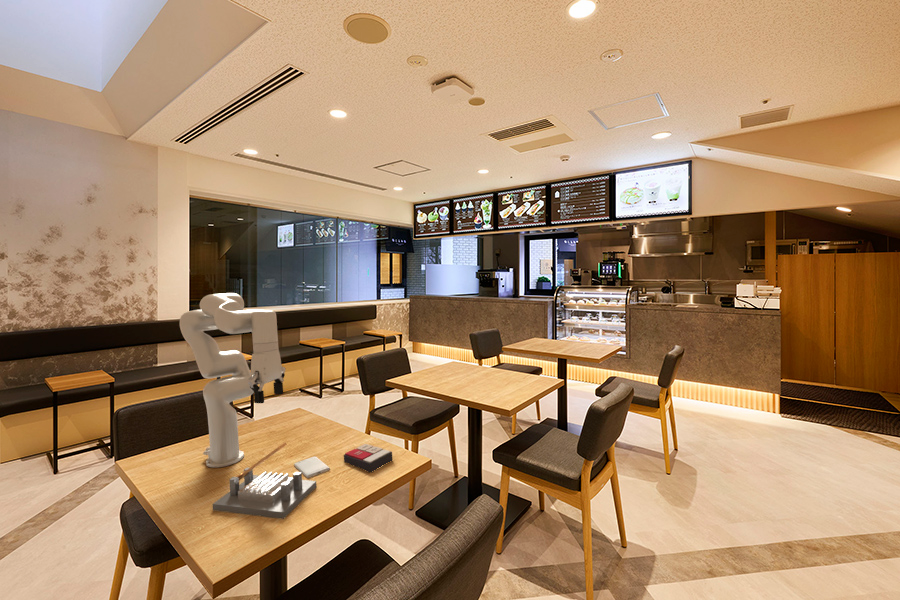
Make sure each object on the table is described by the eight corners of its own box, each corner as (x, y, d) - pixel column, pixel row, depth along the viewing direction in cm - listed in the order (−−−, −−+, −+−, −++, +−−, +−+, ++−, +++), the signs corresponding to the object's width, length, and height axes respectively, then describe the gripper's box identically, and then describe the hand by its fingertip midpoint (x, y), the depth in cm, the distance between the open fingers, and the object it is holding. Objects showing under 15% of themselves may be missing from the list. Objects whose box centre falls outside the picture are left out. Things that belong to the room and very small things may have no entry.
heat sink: (227, 497, 117) (226, 481, 117) (250, 480, 127) (249, 465, 127) (284, 504, 113) (283, 487, 113) (304, 486, 123) (303, 470, 122)
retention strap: (236, 482, 120) (234, 477, 120) (245, 476, 124) (242, 472, 124) (280, 450, 116) (277, 446, 116) (287, 445, 119) (284, 441, 120)
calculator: (365, 442, 152) (392, 449, 143) (366, 453, 152) (393, 461, 143) (342, 452, 143) (369, 461, 134) (343, 464, 143) (370, 473, 134)
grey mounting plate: (212, 510, 115) (212, 503, 114) (253, 480, 131) (253, 475, 131) (283, 519, 109) (283, 512, 109) (316, 487, 126) (316, 481, 126)
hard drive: (294, 463, 141) (307, 475, 132) (315, 455, 146) (329, 466, 137) (294, 467, 141) (307, 479, 132) (315, 460, 146) (330, 471, 137)
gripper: (273, 343, 136) (276, 390, 137) (236, 352, 119) (240, 406, 120) (291, 343, 135) (295, 391, 135) (257, 352, 118) (261, 407, 119)
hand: (269, 398), depth 128 cm, fingers open, 9 cm apart
